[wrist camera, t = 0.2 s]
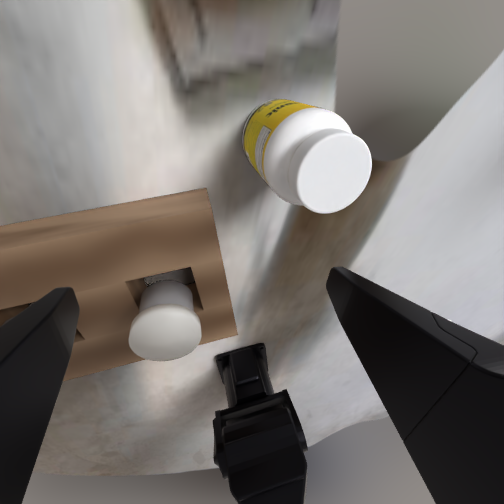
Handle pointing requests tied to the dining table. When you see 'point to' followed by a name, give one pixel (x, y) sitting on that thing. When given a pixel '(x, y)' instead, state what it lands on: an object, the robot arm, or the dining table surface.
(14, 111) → the dining table surface
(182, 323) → the plug
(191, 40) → the dining table surface
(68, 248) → the wooden socket block
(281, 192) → the supplement bottle
